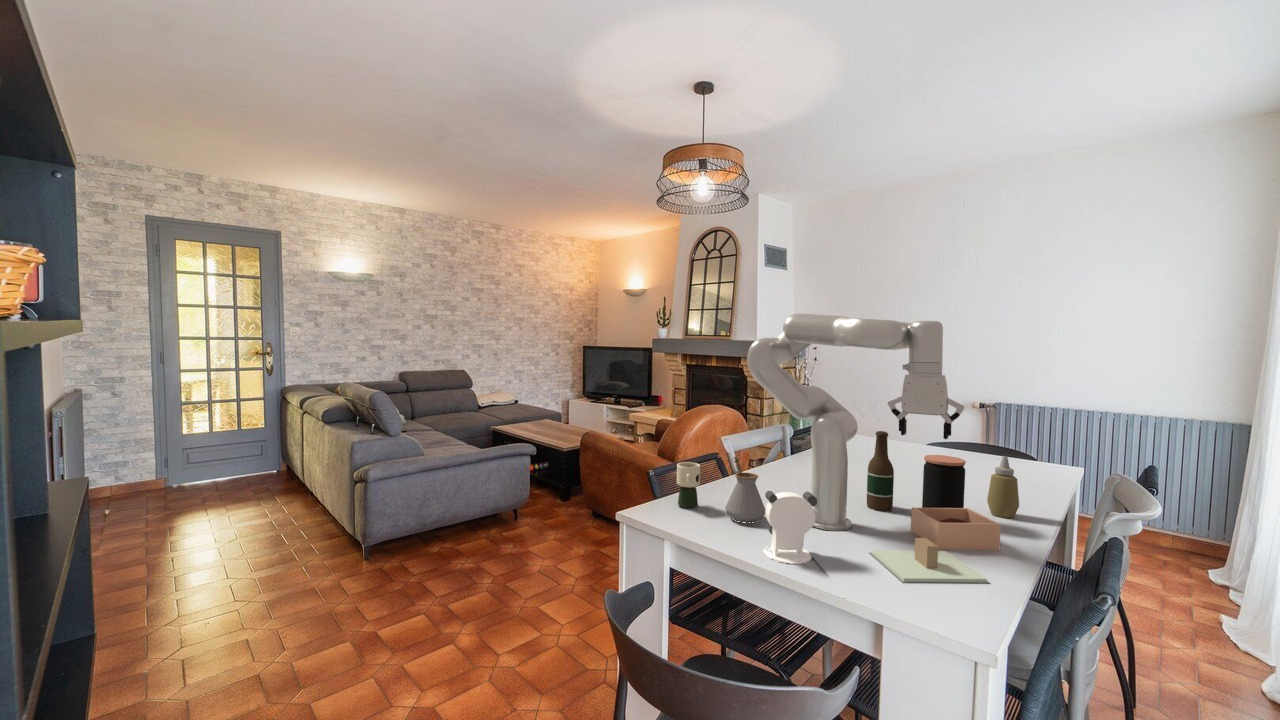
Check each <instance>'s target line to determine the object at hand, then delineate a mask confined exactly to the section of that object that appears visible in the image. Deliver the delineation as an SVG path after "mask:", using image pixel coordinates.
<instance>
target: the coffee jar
mask: <svg viewBox="0 0 1280 720" xmlns="http://www.w3.org/2000/svg"><path fill="white" fill-rule="evenodd" d="M923 457H924V458H923V460H924V461H925V463H924V464H923V472H922V473H923V478H922V479H923V480H922V499H921V502H922V503H921V508H965V488H966V487H965V486H966V468H965V467H964V466H965V465H966V460H965V459H964V458H960V457H957V456H951V455H942V454H928V455H924V456H923Z"/></svg>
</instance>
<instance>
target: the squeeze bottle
mask: <svg viewBox="0 0 1280 720" xmlns="http://www.w3.org/2000/svg"><path fill="white" fill-rule="evenodd" d="M1009 463H1010V462H1009V458H1008V456H1005V455H1003V456H1002V458H1001V461H1000V464H999V466H995V468H994V473H993V474H991V476H990V482H989V488H988V494H987V499H986V502H987V505H988V507H989V511H990V514H991V515H993V516H997V517H1000V518H1005V519H1011V518H1012V519H1013V518H1014V517H1015V515H1016V514H1017V512H1018V510H1019V508H1020V497H1019V485H1018V478H1017V477H1016V476H1014V473H1015V470H1014V469H1013V468H1011V467H1010V464H1009Z"/></svg>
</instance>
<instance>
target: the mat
mask: <svg viewBox="0 0 1280 720" xmlns="http://www.w3.org/2000/svg"><path fill="white" fill-rule="evenodd" d="M868 554H869V555H870V556H871V557H872V558H873V559H875V560H876V561H877V562H878V563H879V564H880V565H882V566H883V568H885V569H886V570H888V572H889V573H890V574H891V575H893V576H894V577H895V578H896V579H897V580H898V581H900V582H901V583H902V584H944V585H945V584H949V585H950V584H951V585H952V584H956V585H957V584H958V585H959V584H962V585H963V584H964V585H970V584H971V585H972V584H973V585H974V584H975V585H978V584H979V585H990V584H991V582H990V581H987V583H975V582H903V581H902V580H901V579H900V578H899V577H898V576H896V575H895V574H894V573H893V572H892V571H891V570H890V569H888V568H887V567H886V566H885V565H884V564H883V563H882V562H880V561H879V560H878V559H877V558H876V557H875V556H874V555H872V554H871V552H868Z"/></svg>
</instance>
